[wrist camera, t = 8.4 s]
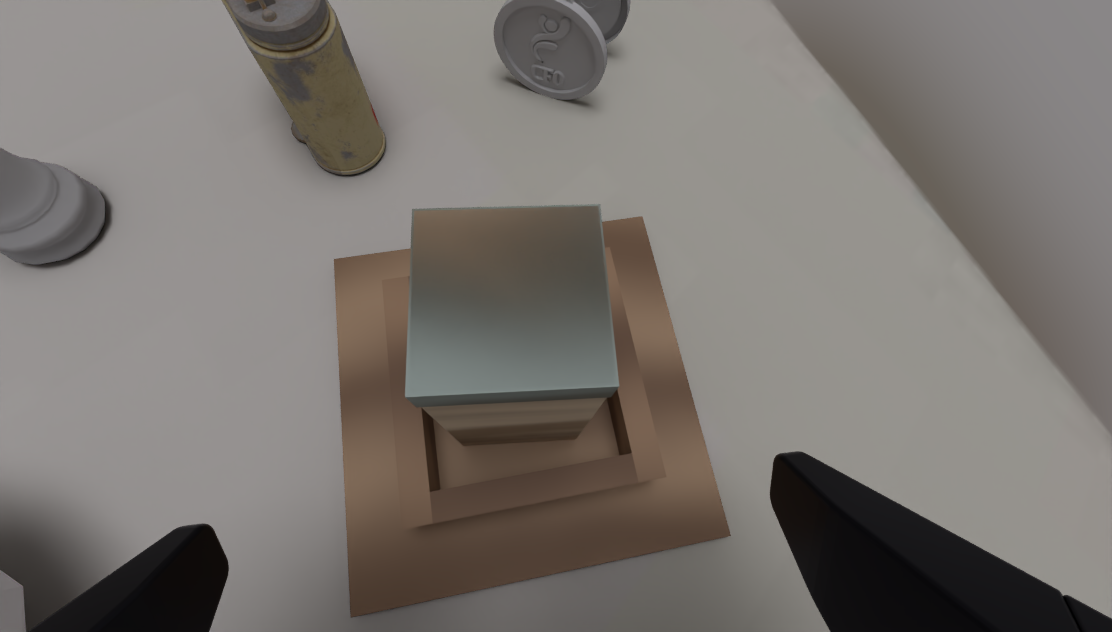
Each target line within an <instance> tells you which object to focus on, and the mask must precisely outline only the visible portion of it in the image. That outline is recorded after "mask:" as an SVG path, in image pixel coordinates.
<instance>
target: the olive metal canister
mask: <svg viewBox="0 0 1112 632" xmlns="http://www.w3.org/2000/svg"><path fill="white" fill-rule="evenodd" d="M222 2H223V4H224V5H225V7H226V9H227V11H228V12H229V14H230V16H231V18H232V20H233V21H234V23H235V25H236V27H237V28H238V30H239V32H240V34H241V36H242V37H243V39H244V41H245V43H246V44H247V46H248V48H249V49H250V51H251V53H252V54H253V56H254V58H255V59H256V61H257V63H258V64H259V66H260V67H261V69H262V71H263V72H264V74H265V76H266V77H267V79H268V81H269V82H270V84H271V85H272V87H273V89H274V90H275V92H276V94H277V95H278V97H279V99H280V100H281V102H282V103H283V105H284V107H285V108H286V110H287V112H288V113H289V115H290V117H291V118H292V120H293V121H294V122H293V124H292V128H291V129H292V133H293V135H294V136H295V137H296V139H297V140H299V141H301V142H303V143H306V144H307V146H308V148H309V150H310V151H311V153H312V155H313V157H314V158H315V160H316V162H317V163H318V165H320V166H321V167H322V168H323V169H325V170H327V171H329V172H331V173H335V174H340V175H351V174H357V173H360V172H363V171H365V170H367V169H369V168H371V167H372V166H373V165H374V164H376V163H377V161H378V160H379V159H380V158H381V156H382V154H383V152H384V149H385V144H386V140H385V135H384V132H383V130H382V129H381V127H380V126H379V123H378V121H377V118H376V116H375V113H374V111H373V108H372V105H371V103H370V100H369V98H368V95H367V93H366V90H365V87H364V85H363V82H362V80H361V77H360V75H359V72H358V70H357V67H356V64H355V62H354V59H353V57H352V54H351V52H350V49H349V47H348V44H347V41H346V39H345V36H344V34H343V31H342V29H341V26H340V24H339V21H338V18H337V16H336V13H335V11H334V10H333V8H332V7H331V5H330V4H329V2H328V1H327V0H222Z"/></svg>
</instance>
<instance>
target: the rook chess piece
mask: <svg viewBox="0 0 1112 632" xmlns="http://www.w3.org/2000/svg"><path fill="white" fill-rule="evenodd" d="M104 223H105V201H104V199H103V197H102V195H101V193H100V192H99V190H98V188H97V187H96V186H94V185H93V184H91V183H89V182H88V181H86V180H84V179H83V178H80V176H78V175H76V174H75V173H73V172H71V171H70V170H68V169H66V168H65V167H62V166H59V165H57V164H51V163H44V162H39V161H37V160H35V159H28V158H21V157H19V156H16V155H13V154H11V153H9V152H7V151H5V150H4V149H2V148H0V251H1V253H3V254H4V255H6V256H8V257H9V258H11V259H12V260H14V261H15V262H21V263H28V264H35V265H37V264H43V263H49V262H54V261H59V260H65V259H68V258H70V257H72V256H74V255H76V254H78V253H80V252H82V251H84V250H85V249H86V248H87V247H88V246H89V245H90V244H91V243H92V242H93V241H94V240H95V239H96V238H97V237H98V235H99V233H100V231H101V229H102V227H103V225H104Z"/></svg>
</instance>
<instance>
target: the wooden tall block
mask: <svg viewBox="0 0 1112 632" xmlns="http://www.w3.org/2000/svg"><path fill="white" fill-rule="evenodd" d="M618 387H619V379H618V369H617V360H616V350H615V341H614V331H613V322H612V312H611V303H610V293H609V284H608V274H607V265H606V255H605V246H604V236H603V227H602V217H601V208H600V204H591V205H552V206H512V207H473V208H433V209H412V227H411V253H410V279H409V305H408V331H407V357H406V383H405V398H406V399H408V400H409V401H410V402H411V403H412V404H413V405H414V406H416V407H421V408H423V409H424V410H425V411H426V412H427V413H428V414H429V415H430V416H431V417H432V418H433V419H435V420H436V421H437V422H438V423H439V424H440V425H441V426H442V427H443V428H444V429H446V430H447V431H448V432H449V433H450V434H451V435H452V436H453V437H454V438H455V439H456V440H458V441H459V442H460V443H461V444H462V445H463V446H473V445H490V444H507V443H525V442H542V441H560V440H576V439H577V437H578V436H579V434H580V433H581V432H582V430H583V429H584V428H585V426H586V425H587V424H588V422H589V421H590V420H591V418H592V417H593V416H594V414H595V413H596V412H597V410H598V409H599V408H600V406H601V405H602V403H603V402H604V401H605V399H606V398H609V397H611V396H612V395H613V394H614V393H615V391H616V390H617V389H618Z"/></svg>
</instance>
